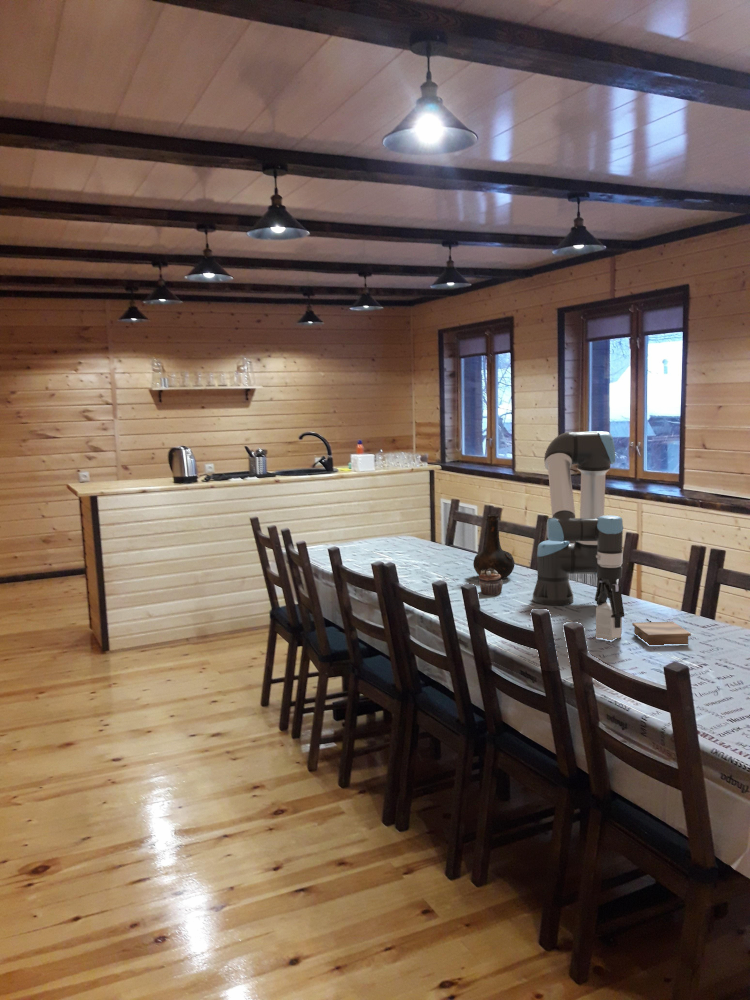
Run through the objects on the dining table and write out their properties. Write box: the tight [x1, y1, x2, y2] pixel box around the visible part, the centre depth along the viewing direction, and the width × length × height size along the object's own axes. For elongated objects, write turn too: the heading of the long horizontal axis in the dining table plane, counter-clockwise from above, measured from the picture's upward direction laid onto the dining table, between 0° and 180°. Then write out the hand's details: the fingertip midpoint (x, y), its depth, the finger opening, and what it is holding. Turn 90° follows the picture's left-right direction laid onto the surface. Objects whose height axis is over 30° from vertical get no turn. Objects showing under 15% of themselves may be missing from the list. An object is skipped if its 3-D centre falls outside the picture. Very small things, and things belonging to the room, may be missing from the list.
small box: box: [595, 601, 623, 640], centre depth 233 cm, size 8×6×10 cm
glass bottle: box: [472, 513, 516, 580], centre depth 320 cm, size 18×18×28 cm
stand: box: [631, 621, 692, 645], centre depth 230 cm, size 13×13×4 cm
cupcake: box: [478, 568, 504, 596], centre depth 295 cm, size 10×10×10 cm
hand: (608, 631), depth 234 cm, fingers open, 13 cm apart
